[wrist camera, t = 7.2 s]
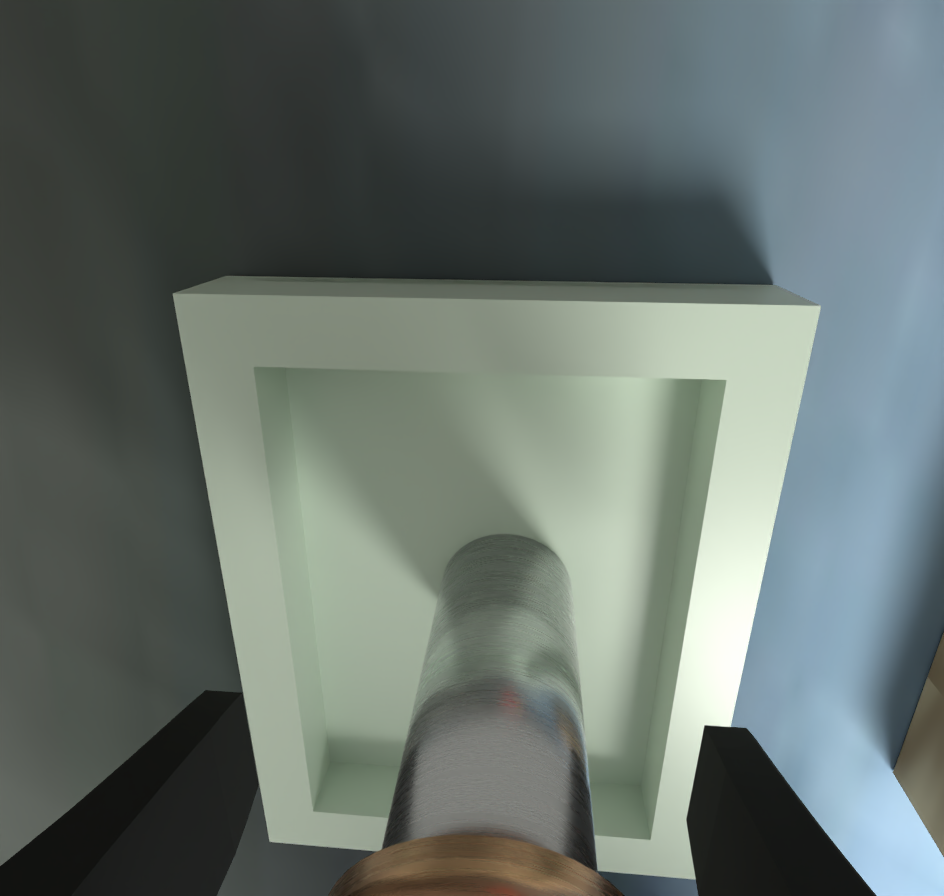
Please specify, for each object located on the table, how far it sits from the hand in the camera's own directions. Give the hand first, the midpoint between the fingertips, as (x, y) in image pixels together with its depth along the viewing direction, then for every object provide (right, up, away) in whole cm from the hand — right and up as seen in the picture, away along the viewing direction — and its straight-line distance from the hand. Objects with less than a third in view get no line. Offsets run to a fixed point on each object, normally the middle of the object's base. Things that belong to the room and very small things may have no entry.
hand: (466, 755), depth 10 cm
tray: (0, +2, +4) cm, 5 cm away
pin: (+1, +2, +4) cm, 4 cm away
